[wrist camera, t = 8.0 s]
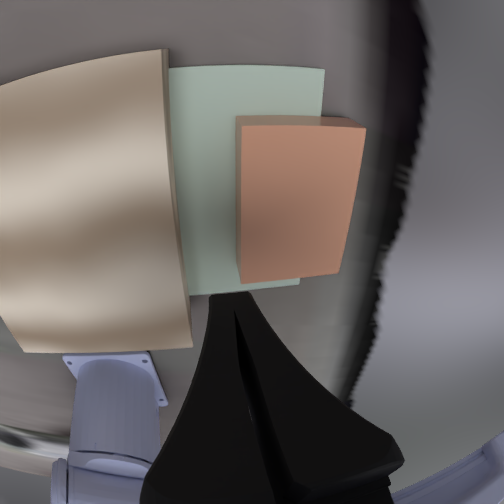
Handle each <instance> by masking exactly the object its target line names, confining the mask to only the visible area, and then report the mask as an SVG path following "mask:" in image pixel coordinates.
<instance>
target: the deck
mask: <svg viewBox="0 0 504 504" xmlns="http://www.w3.org/2000/svg"><path fill="white" fill-rule="evenodd" d="M168 69H169V48H168V49H158V50H149V51H141V52H134V53H127V54H121V55H115V56H109V57H104V58H98V59H93V60H88V61H84V62H79V63H75V64H71V65H66V66H62V67H59V68H55V69H51V70H47V71H44V72H40V73H37V74H34V75H30V76H27V77H24V78H21V79H18V80H15V81H12V82H9V83H6V84H3V85H1V86H0V316H1V317H2V319H3V321H4V322H5V324H6V325H7V327H8V328H9V330H10V331H11V333H12V335H13V336H14V338H15V339H16V340H17V342H18V343H19V345H20V346H21V348H22V349H23V351H24V352H31V353H98V352H127V351H146V350H162V349H176V348H188V347H193V337H192V323H191V306H190V296H189V293H188V286H187V279H186V271H185V264H184V256H183V248H182V240H181V231H180V223H179V213H178V204H177V194H176V183H175V172H174V160H173V147H172V133H171V116H170V97H169V72H168Z"/></svg>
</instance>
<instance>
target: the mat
mask: <svg viewBox="0 0 504 504" xmlns="http://www.w3.org/2000/svg"><path fill="white" fill-rule="evenodd" d="M168 72H169V97H170V116H171V133H172V147H173V160H174V172H175V183H176V194H177V204H178V213H179V223H180V231H181V240H182V248H183V256H184V264H185V271H186V279H187V286H188V293H189V296H191V295H202V294H213V293H223V292H233V291H243V290H253V289H262V288H272V287H281V286H289V285H298V284H299V282H300V278H294V279H286V280H277V281H267V282H258V283H249V284H241V282H240V278H239V273H238V269H237V264H236V183H235V122H236V116H251V115H295V116H321V108H322V97H323V85H324V73H325V69H321V68H311V67H297V66H280V65H205V66H187V67H174V68H169V69H168Z"/></svg>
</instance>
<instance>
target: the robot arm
mask: <svg viewBox="0 0 504 504" xmlns="http://www.w3.org/2000/svg"><path fill="white" fill-rule="evenodd" d="M62 359H63V360H64V362H65V363H66V365H67V366H68V368H69V369H70V371H71V372H72V374H73V375H74V377H75V378H76V379H77V384H76V390H75V398H74V405H73V414H72V423H71V433H70V445H69V454H68V458H67V461H66V459H63V458H59V459H58V461H55V462H53V464H52V479H51V504H499V503H500V502H501V501H502V500H503V499H504V431H502V432H501V433H499V434H498V435H496V437H494V438H492V439H491V440H490V441H488V442H487V443H485V444H484V445H483V446H482V447H481V448H479V449H478V450H476V451H474V452H473V453H471V454H469V455H468V456H466V457H464V458H463V459H461V460H459V461H458V462H456V463H454V464H452V465H450V466H449V467H447V468H445V469H443V470H441V471H439V472H437V473H435V474H433V475H432V476H430V477H427V478H425V479H424V480H421V481H419V482H417V483H415V484H413V485H411V486H408V487H406V488H404V489H402V490H399V491H397V492H395V493H392V494H391V493H390V491H389V488H388V486H390V485H391V482H390V479H389V477H388V475H390V474H391V473H393V472H394V471H396V470H397V469H398V468H400V467H401V466H402V465H403V463H404V461H405V460H404V457H403V455H402V452H401V450H400V448H399V447H398V445H397V443H396V442H395V440H394V438H393V437H392V435H390V434H389V433H387V432H385V431H384V430H382V429H380V428H378V427H377V426H375V425H374V424H372V423H370V422H369V421H367V420H366V419H364V418H363V417H361V416H360V415H359V414H357V413H356V412H354V411H353V410H352V409H350V408H349V407H348V406H346V405H345V404H344V403H343V402H341V401H340V400H339V399H338V398H336V397H335V396H334V395H333V394H331V393H330V392H329V391H328V390H327V389H326V388H325V387H323V386H322V385H321V384H320V383H319V382H318V381H317V380H316V379H315V378H314V377H313V376H312V375H311V374H310V373H309V372H308V371H307V370H306V369H305V368H304V367H303V366H302V365H301V364H300V363H299V362H298V360H297V359H296V358H295V357H294V356H293V355H292V353H291V352H290V351H289V350H288V349H287V348H286V346H285V345H284V344H283V342H282V341H281V340H280V339H279V337H278V336H277V334H276V333H275V332H274V330H273V329H272V328H271V326H270V325H269V323H268V322H267V320H266V319H265V317H264V316H263V314H262V313H261V311H260V309H259V308H258V306H257V304H256V302H255V301H254V299H253V297H252V295H251V293H249V292H248V291H247V292H237V293H227V294H216V295H211V296H210V297H209V314H208V321H207V328H206V332H205V337H204V342H203V346H202V350H201V354H200V357H199V361H198V364H197V368H196V371H195V374H194V377H193V380H192V383H191V385H190V388H189V391H188V393H187V396H186V398H185V401H184V403H183V406H182V408H181V410H180V413H179V415H178V417H177V419H176V421H175V424H174V426H173V427H172V429H171V431H170V433H169V435H168V437H167V439H166V441H165V443H164V445H163V447H162V449H161V447H160V427H159V406H167V405H168V400H167V398H166V395H165V393H164V390H163V388H162V385H161V383H160V380H159V378H158V375H157V373H156V370H155V367H154V365H153V362H152V359H151V357H150V354H149V353H148V352H147V351H129V352H102V353H64V354H63V357H62ZM249 410H250V412H249ZM250 414H251V416H250ZM251 418H252V420H251Z"/></svg>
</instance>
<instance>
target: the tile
mask: <svg viewBox="0 0 504 504" xmlns="http://www.w3.org/2000/svg"><path fill="white" fill-rule="evenodd" d="M365 134H366V128H365V127H363V126H361V125H360V124H358V123H356V122H355V121H353V120H351V119H350V118H342V117H324V116H295V115H251V116H236V122H235V183H236V264H237V269H238V273H239V278H240V282H241V284H249V283H258V282H267V281H277V280H286V279H294V278H303V277H312V276H320V275H328V274H336V273H339V269H340V265H341V260H342V256H343V252H344V247H345V243H346V238H347V234H348V229H349V224H350V219H351V214H352V209H353V204H354V199H355V194H356V188H357V183H358V177H359V172H360V166H361V160H362V154H363V147H364V141H365Z"/></svg>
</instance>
